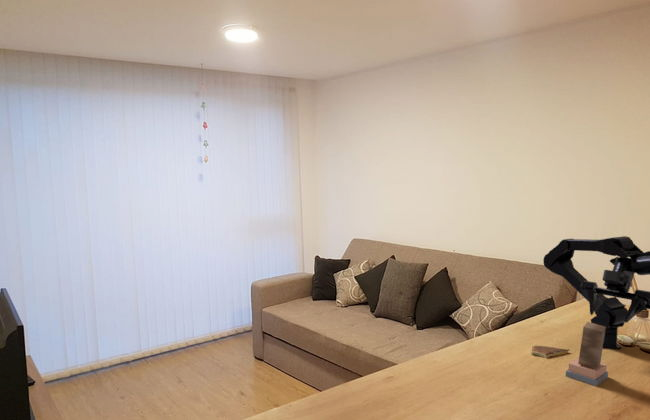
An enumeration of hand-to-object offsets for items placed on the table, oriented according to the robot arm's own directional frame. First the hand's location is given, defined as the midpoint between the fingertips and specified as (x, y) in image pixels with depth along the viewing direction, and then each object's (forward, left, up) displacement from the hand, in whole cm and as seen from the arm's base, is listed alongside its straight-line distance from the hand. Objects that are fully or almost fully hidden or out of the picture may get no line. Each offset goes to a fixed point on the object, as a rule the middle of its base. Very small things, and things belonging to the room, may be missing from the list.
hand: (607, 318), depth 139 cm
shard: (-6, -15, -14) cm, 22 cm away
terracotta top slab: (+11, -9, -12) cm, 19 cm away
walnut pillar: (+11, -9, -10) cm, 17 cm away
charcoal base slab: (+11, -9, -14) cm, 20 cm away
